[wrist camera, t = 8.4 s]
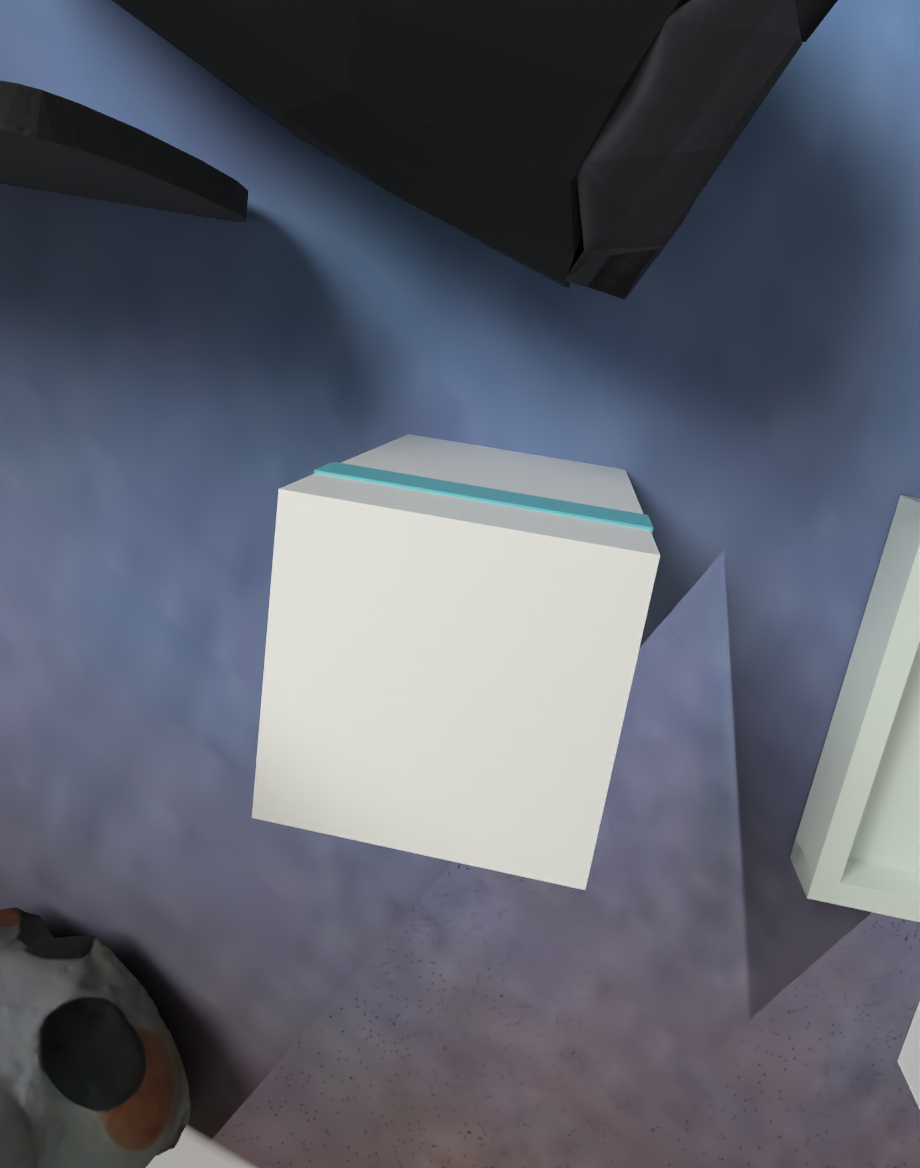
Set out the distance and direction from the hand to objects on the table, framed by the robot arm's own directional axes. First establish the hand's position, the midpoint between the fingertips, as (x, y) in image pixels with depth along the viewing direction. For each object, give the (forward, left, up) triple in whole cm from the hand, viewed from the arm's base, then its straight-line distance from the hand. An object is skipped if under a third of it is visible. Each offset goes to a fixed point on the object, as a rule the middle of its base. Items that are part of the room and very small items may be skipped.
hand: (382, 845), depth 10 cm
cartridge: (0, 0, -14) cm, 14 cm away
